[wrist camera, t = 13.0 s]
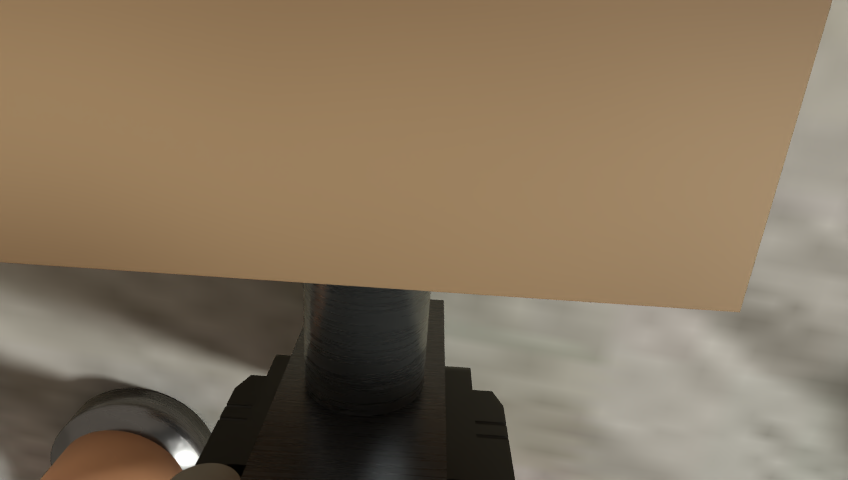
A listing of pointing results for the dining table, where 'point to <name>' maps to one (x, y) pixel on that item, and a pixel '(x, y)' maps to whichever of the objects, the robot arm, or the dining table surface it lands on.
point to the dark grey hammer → (359, 391)
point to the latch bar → (113, 459)
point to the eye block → (405, 141)
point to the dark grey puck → (140, 423)
